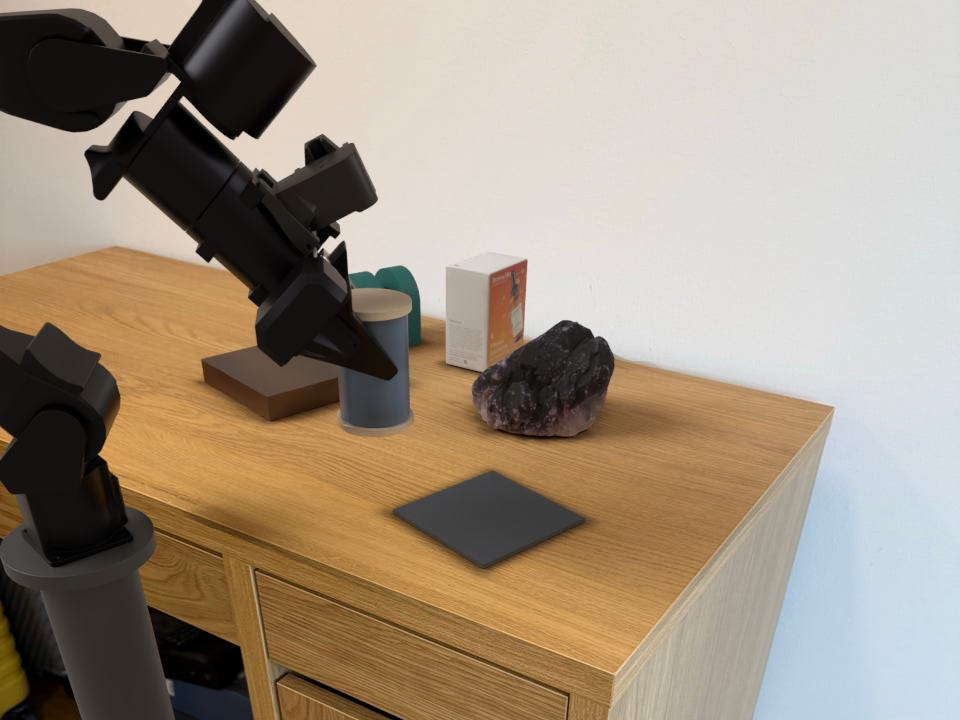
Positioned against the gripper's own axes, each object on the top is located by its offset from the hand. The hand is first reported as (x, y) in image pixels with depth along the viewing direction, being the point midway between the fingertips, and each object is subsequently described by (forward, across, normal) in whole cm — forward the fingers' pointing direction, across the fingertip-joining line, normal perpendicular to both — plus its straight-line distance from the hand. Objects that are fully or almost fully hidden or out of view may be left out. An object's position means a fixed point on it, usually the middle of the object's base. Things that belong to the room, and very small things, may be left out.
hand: (391, 361), depth 66 cm
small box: (+18, +34, 0) cm, 39 cm away
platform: (+3, +29, +15) cm, 33 cm away
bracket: (+8, +47, +10) cm, 48 cm away
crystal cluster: (+20, +18, -2) cm, 27 cm away
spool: (+2, 0, +4) cm, 5 cm away
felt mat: (+14, -2, +4) cm, 15 cm away
